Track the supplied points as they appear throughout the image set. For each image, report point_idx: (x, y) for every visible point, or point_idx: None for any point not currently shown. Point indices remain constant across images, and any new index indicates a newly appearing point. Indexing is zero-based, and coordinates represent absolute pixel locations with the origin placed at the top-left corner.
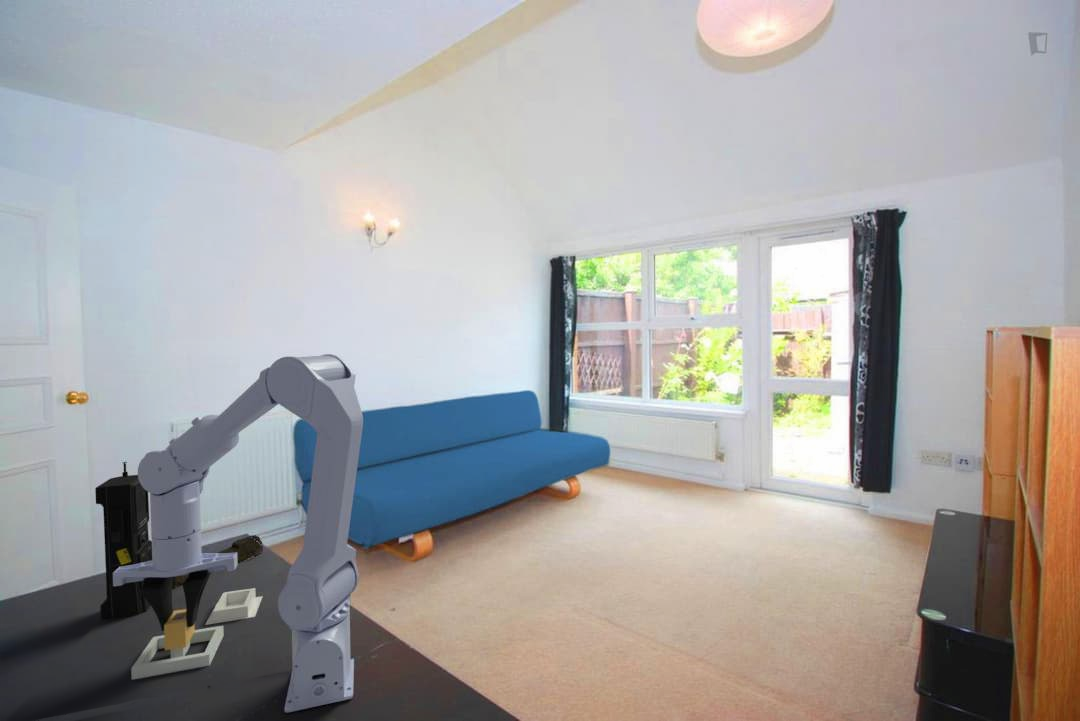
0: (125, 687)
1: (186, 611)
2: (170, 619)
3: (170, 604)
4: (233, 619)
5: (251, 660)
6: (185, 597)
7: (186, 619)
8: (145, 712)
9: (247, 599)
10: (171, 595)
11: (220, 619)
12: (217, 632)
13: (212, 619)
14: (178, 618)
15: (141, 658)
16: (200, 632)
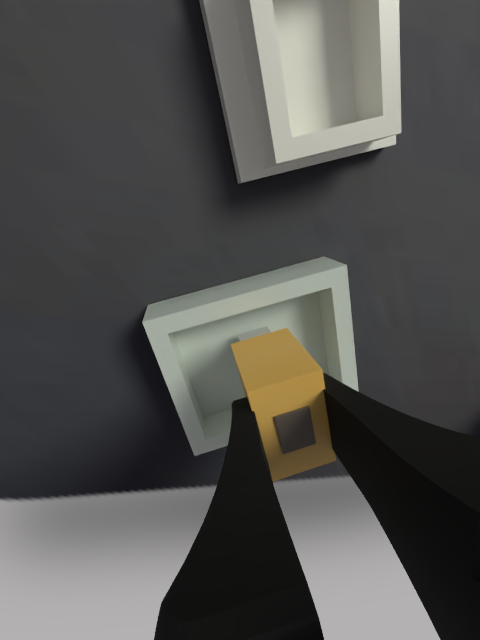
0: (183, 430)
1: (354, 479)
2: (273, 451)
3: (264, 457)
4: (327, 154)
5: (414, 346)
6: (402, 561)
7: (333, 448)
8: (273, 481)
9: (387, 57)
10: (266, 468)
11: (289, 162)
12: (343, 306)
13: (249, 141)
14: (301, 446)
15: (190, 421)
16: (287, 299)
